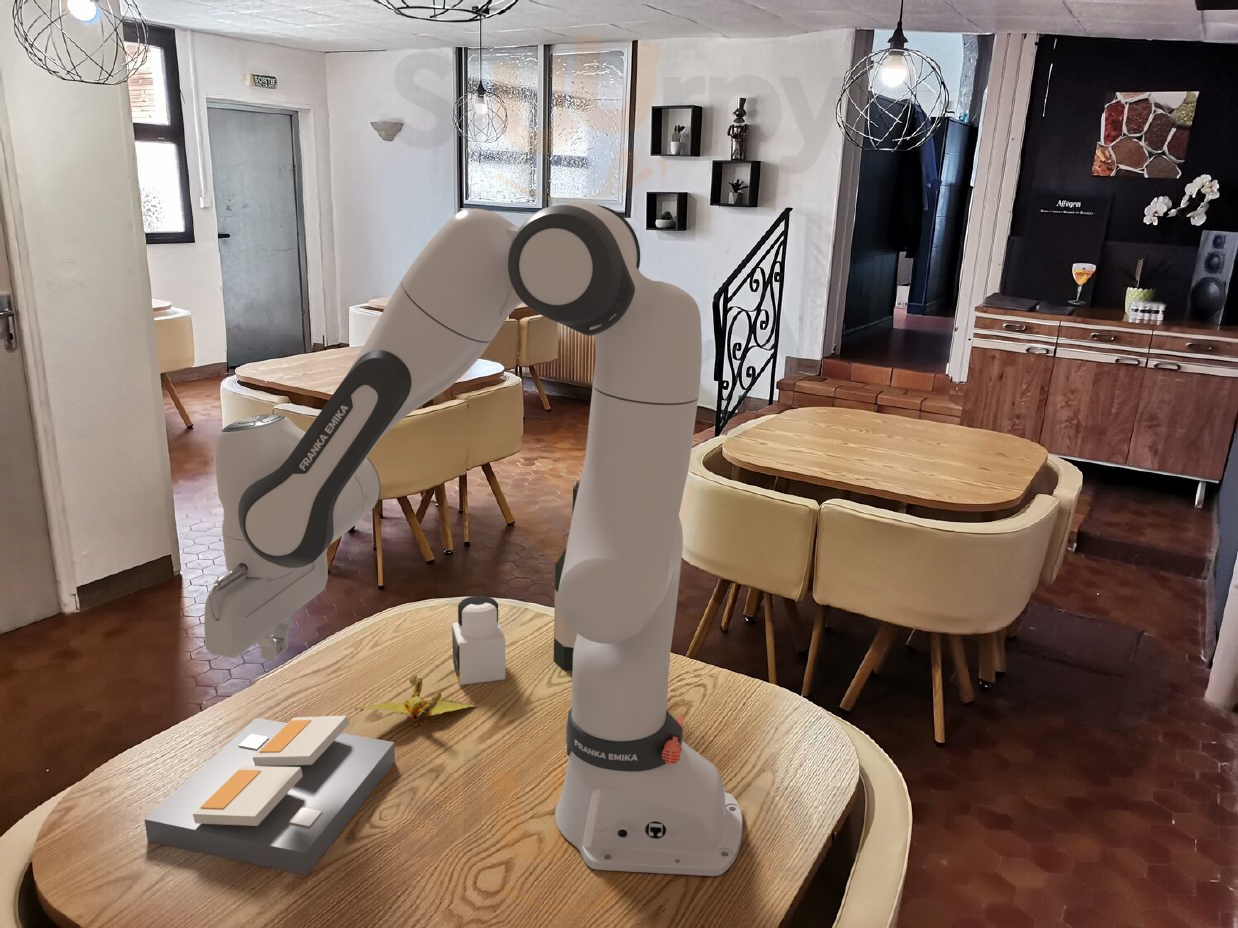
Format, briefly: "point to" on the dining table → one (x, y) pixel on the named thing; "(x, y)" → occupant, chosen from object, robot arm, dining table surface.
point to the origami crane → (419, 704)
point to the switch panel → (295, 822)
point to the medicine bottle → (478, 642)
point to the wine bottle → (562, 630)
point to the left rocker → (248, 795)
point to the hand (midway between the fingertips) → (275, 654)
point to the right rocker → (301, 741)
